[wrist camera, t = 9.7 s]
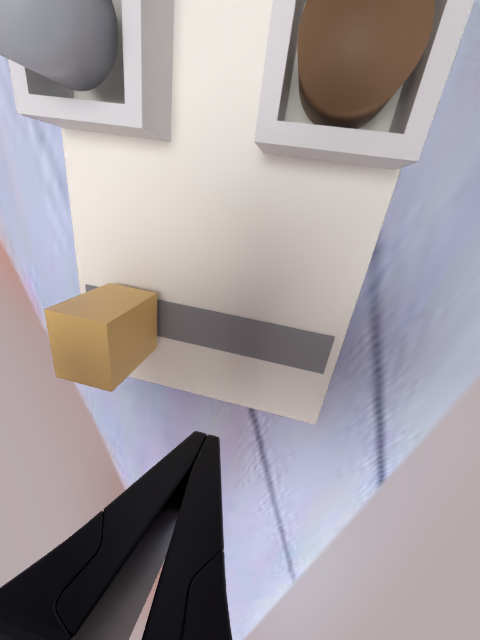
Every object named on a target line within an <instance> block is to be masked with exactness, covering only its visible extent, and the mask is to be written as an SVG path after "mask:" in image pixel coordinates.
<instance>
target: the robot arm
mask: <svg viewBox="0 0 480 640" xmlns="http://www.w3.org/2000/svg"><path fill="white" fill-rule="evenodd" d="M223 550H224V539H223V514H222V489H221V463H220V440H219V437H216V436H213V435H207V434H205V433H202V432H198V431H195V432H193V433H192V434H191V435H190V436H189V437H188V438H186V439H185V440H184V441H183V442H182V443H180V444H179V445H178V446H177V447H176V448H175V449H173V450H172V451H171V452H170V453H169V454H168V455H166V456H165V457H164V458H163V459H162V460H161V461H159V462H158V463H157V464H156V465H155V466H154V467H152V468H151V469H150V470H149V471H148V472H146V473H145V474H144V475H143V476H142V477H141V478H139V479H138V480H137V481H136V482H135V483H134V484H132V485H131V486H130V487H129V488H128V489H127V490H125V491H124V492H123V493H122V494H121V495H120V496H118V497H117V498H116V499H115V500H114V501H113V502H111V503H110V504H109V505H108V506H107V507H105V509H104V512H103V511H101V512H99V513H98V514H97V515H96V516H95V517H94V518H92V519H91V520H90V521H89V522H88V523H87V524H85V525H84V526H83V527H82V528H80V529H79V530H78V531H77V532H75V533H74V534H73V535H72V536H70V537H69V538H68V539H67V540H65V541H64V542H63V543H62V544H60V545H59V546H57V547H56V548H55V549H53V550H52V551H51V552H49V553H48V554H47V555H45V556H44V557H42V558H41V559H40V560H38V561H37V562H36V563H34V564H33V565H31V566H30V567H29V568H27V569H26V570H24V571H23V572H22V573H20V574H19V575H17V576H16V577H15V578H13V579H12V580H11V581H9V582H8V583H6V584H5V585H3V586H2V587H1V588H0V640H129V637H130V635H131V633H132V631H133V628H134V626H135V624H136V622H137V620H138V617H139V615H140V613H141V611H142V608H143V606H144V604H145V602H146V599H147V597H148V595H149V593H150V591H151V589H152V586H153V584H154V582H155V579H156V577H157V575H158V573H159V571H160V568H161V566H162V564H163V562H164V564H163V568H162V572H161V575H160V578H159V582H158V585H157V589H156V592H155V595H154V599H153V602H152V606H151V610H150V613H149V616H148V619H147V623H146V626H145V630H144V633H143V637H142V640H232V634H231V628H230V620H229V611H228V603H227V594H226V579H225V561H224V551H223ZM164 559H165V561H164Z"/></svg>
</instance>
